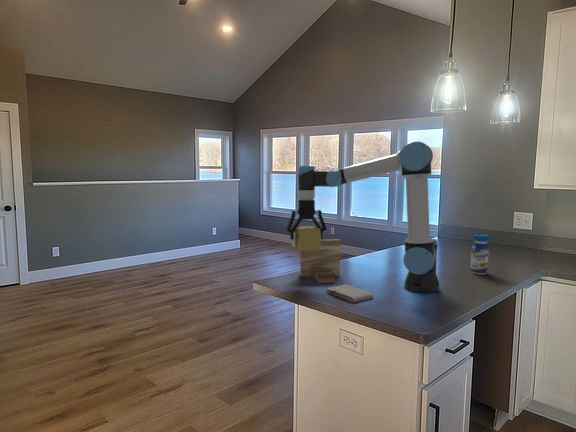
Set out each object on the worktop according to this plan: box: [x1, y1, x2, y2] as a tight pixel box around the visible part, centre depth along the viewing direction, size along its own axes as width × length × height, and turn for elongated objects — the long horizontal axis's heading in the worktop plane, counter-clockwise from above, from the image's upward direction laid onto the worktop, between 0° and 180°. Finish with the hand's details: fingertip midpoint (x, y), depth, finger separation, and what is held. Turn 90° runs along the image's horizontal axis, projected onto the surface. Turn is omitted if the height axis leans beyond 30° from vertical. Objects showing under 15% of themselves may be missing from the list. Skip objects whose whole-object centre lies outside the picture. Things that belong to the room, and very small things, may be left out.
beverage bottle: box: [469, 233, 490, 275], centre depth 217 cm, size 8×8×20 cm
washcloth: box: [325, 284, 374, 304], centre depth 178 cm, size 12×18×3 cm, turn 36°
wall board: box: [298, 239, 341, 284], centre depth 204 cm, size 16×20×18 cm
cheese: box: [291, 225, 322, 252], centre depth 195 cm, size 10×11×10 cm
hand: (306, 246), depth 195 cm, fingers closed on cheese, 11 cm apart
